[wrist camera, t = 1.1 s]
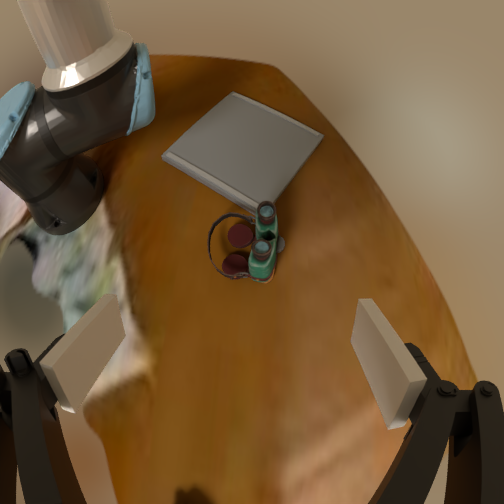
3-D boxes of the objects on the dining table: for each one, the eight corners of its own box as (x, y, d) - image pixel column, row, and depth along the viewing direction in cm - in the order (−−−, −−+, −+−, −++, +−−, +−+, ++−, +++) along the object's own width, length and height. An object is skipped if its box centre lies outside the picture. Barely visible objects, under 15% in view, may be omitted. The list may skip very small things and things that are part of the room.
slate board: (162, 159, 46) (160, 154, 44) (232, 95, 51) (232, 90, 50) (261, 220, 43) (262, 215, 41) (322, 139, 48) (324, 134, 47)
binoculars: (204, 186, 33) (290, 193, 32) (218, 224, 43) (286, 231, 42) (187, 258, 30) (282, 270, 29) (207, 283, 40) (279, 292, 39)
